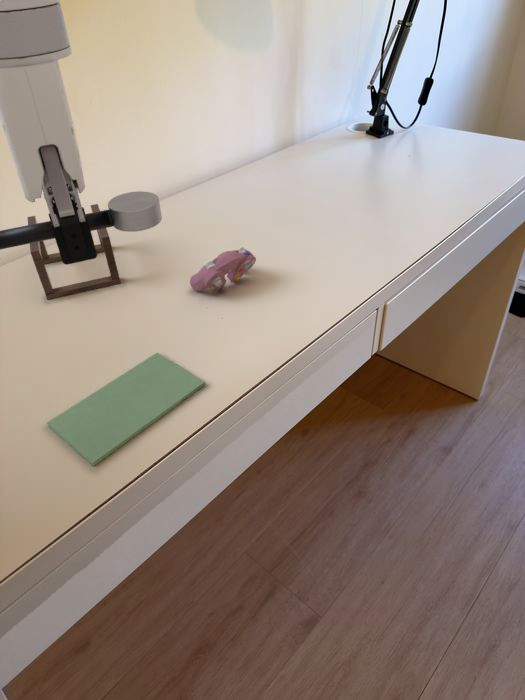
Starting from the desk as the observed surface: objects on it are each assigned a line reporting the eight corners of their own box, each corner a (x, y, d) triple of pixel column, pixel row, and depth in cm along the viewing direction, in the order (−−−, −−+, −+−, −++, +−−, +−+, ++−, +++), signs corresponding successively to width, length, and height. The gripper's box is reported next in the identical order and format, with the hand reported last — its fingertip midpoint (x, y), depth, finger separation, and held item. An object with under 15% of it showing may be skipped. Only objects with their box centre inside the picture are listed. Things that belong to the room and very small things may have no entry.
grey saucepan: (-9, 262, 46) (-18, 241, 45) (-10, 239, 49) (-17, 219, 48) (167, 225, 50) (164, 205, 49) (155, 206, 54) (152, 187, 52)
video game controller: (203, 306, 79) (211, 278, 74) (186, 285, 81) (192, 255, 75) (253, 282, 84) (264, 254, 78) (236, 261, 85) (246, 232, 80)
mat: (93, 466, 55) (92, 463, 54) (47, 425, 59) (46, 422, 59) (205, 385, 64) (204, 381, 63) (157, 355, 68) (157, 352, 68)
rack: (47, 299, 80) (30, 253, 75) (42, 260, 90) (27, 216, 85) (120, 283, 83) (109, 236, 78) (108, 246, 93) (97, 203, 88)
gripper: (-36, 28, 44) (33, 230, 56) (-44, 59, 33) (45, 305, 44) (56, 19, 46) (104, 216, 58) (79, 46, 35) (133, 284, 46)
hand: (78, 253), depth 51 cm, fingers closed on grey saucepan, 1 cm apart
